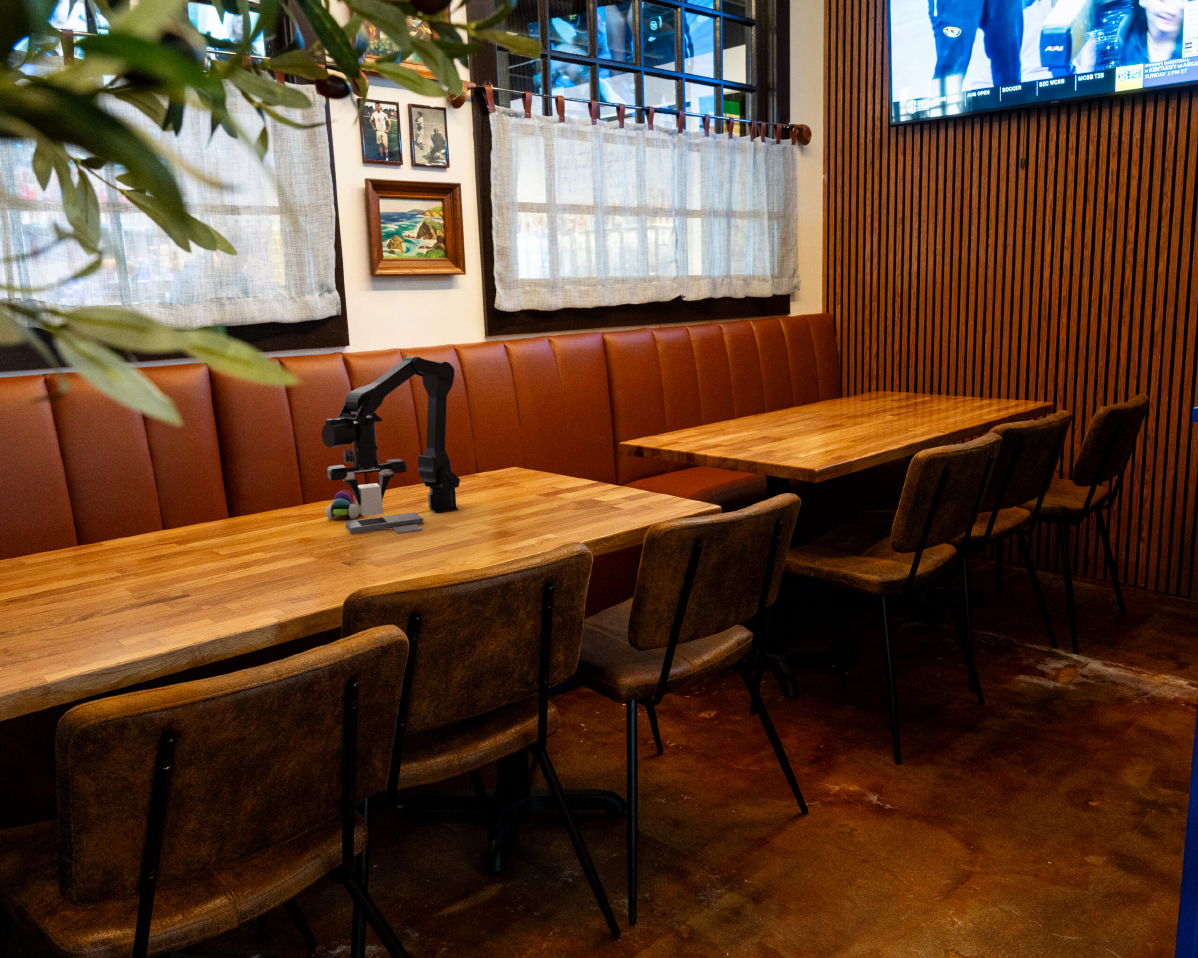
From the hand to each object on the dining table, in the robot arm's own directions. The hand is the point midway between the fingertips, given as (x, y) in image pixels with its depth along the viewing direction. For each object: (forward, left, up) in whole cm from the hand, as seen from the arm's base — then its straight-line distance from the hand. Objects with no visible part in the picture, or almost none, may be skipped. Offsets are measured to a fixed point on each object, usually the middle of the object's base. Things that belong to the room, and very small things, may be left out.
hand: (370, 503), depth 247 cm
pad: (-7, +8, -6) cm, 12 cm away
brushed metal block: (0, 0, -3) cm, 3 cm away
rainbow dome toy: (+4, -16, -7) cm, 18 cm away
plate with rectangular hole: (-3, 0, -6) cm, 7 cm away
